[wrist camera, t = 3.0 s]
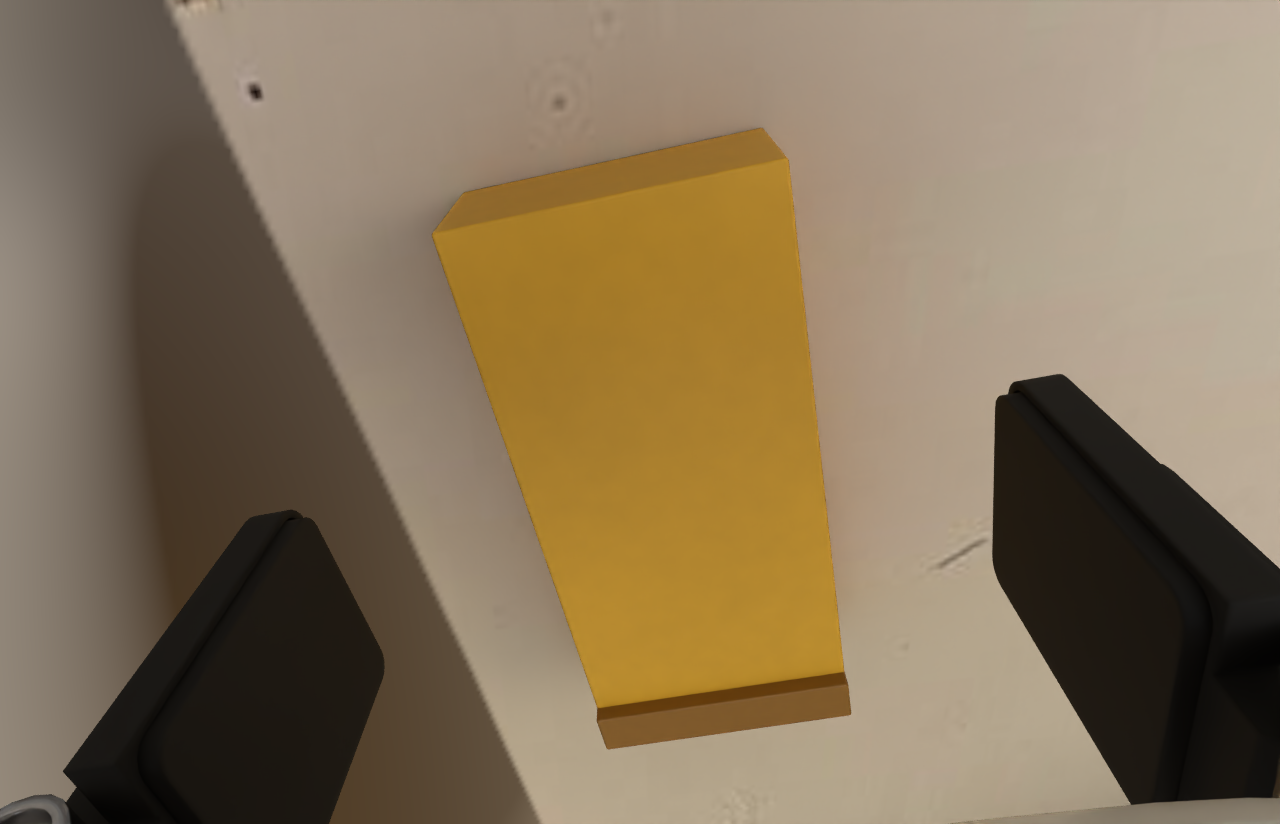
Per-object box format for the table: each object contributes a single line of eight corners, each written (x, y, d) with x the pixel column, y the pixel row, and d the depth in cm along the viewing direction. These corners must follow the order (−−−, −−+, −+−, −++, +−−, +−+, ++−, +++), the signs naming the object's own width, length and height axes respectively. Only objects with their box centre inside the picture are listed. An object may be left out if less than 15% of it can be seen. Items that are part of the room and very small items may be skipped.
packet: (462, 192, 16) (424, 240, 14) (763, 126, 16) (793, 162, 13) (610, 652, 23) (606, 750, 20) (823, 619, 23) (851, 715, 20)
